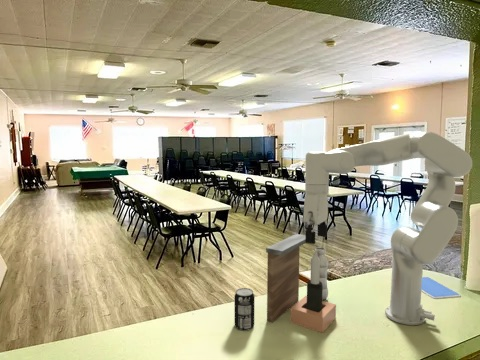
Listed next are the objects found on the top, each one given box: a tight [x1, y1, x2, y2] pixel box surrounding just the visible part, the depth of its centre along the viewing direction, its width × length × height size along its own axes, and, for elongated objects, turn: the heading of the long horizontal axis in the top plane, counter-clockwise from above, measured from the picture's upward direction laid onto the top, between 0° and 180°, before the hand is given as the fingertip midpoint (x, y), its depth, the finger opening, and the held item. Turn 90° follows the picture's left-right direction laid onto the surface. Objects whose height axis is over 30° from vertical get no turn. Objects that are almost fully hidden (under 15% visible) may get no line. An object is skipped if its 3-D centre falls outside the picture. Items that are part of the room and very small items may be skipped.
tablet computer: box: [421, 276, 461, 300], centre depth 148 cm, size 19×13×1 cm, turn 10°
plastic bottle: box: [315, 246, 330, 301], centre depth 137 cm, size 6×7×20 cm
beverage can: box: [234, 287, 255, 331], centre depth 117 cm, size 7×7×12 cm
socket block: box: [290, 295, 337, 334], centre depth 121 cm, size 12×12×5 cm
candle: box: [306, 248, 323, 313], centre depth 120 cm, size 5×5×25 cm
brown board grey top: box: [265, 233, 307, 324], centre depth 125 cm, size 6×22×26 cm, turn 145°
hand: (316, 239), depth 118 cm, fingers open, 9 cm apart
